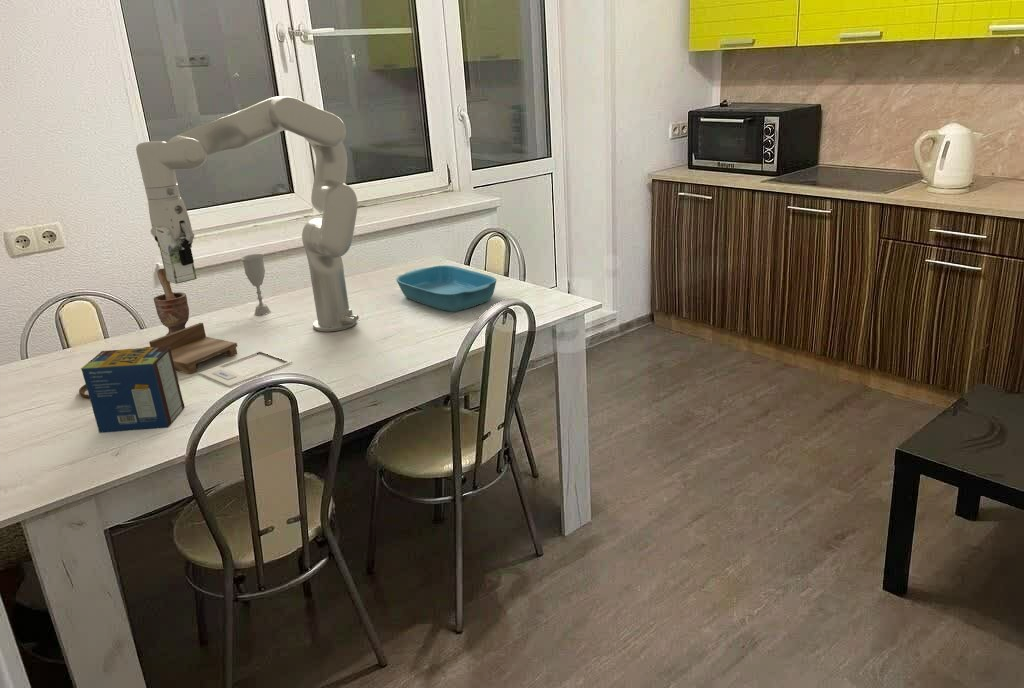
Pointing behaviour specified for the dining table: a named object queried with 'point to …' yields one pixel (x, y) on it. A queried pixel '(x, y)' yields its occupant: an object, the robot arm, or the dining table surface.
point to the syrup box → (173, 258)
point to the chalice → (256, 277)
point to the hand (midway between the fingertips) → (178, 262)
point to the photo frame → (231, 377)
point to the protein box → (133, 389)
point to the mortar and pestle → (171, 306)
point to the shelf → (193, 347)
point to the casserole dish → (447, 287)
